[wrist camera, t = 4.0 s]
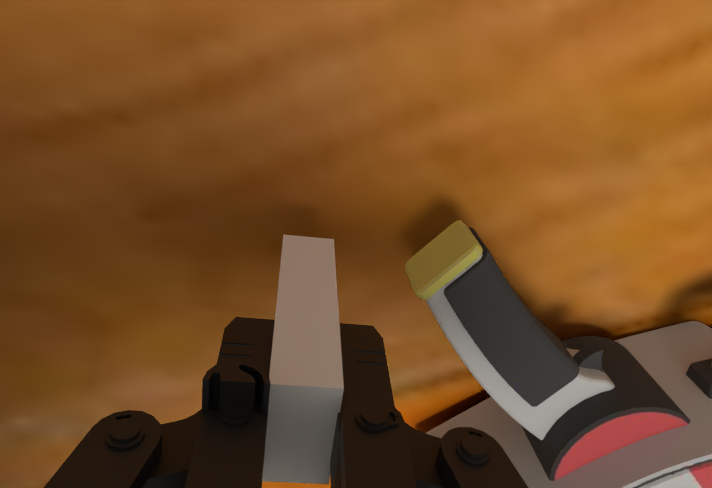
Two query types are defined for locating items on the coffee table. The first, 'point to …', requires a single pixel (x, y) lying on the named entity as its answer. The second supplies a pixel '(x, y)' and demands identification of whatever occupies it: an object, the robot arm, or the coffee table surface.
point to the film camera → (570, 382)
